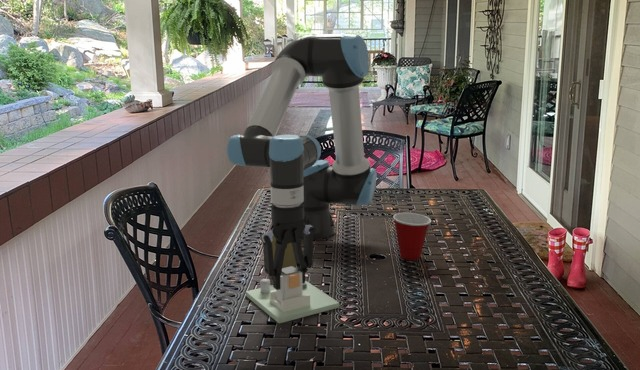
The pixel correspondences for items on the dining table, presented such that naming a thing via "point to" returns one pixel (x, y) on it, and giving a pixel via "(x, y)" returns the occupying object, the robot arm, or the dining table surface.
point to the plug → (291, 282)
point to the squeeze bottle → (286, 255)
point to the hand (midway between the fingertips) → (289, 298)
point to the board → (291, 302)
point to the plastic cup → (411, 234)
